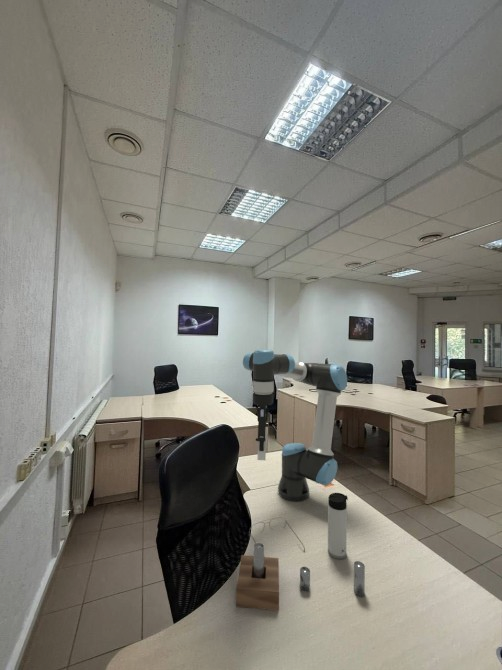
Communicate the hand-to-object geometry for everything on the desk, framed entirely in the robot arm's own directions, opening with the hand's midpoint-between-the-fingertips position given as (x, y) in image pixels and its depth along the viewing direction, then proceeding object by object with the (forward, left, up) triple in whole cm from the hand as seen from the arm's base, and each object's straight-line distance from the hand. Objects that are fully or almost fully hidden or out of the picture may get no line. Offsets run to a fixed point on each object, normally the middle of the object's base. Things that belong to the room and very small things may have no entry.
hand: (262, 451), depth 99 cm
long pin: (+16, 0, -35) cm, 38 cm away
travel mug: (-1, +27, -35) cm, 44 cm away
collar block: (+16, 0, -35) cm, 38 cm away
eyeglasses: (-3, +5, -35) cm, 36 cm away
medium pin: (+14, +30, -35) cm, 48 cm away
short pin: (+14, +14, -35) cm, 40 cm away
